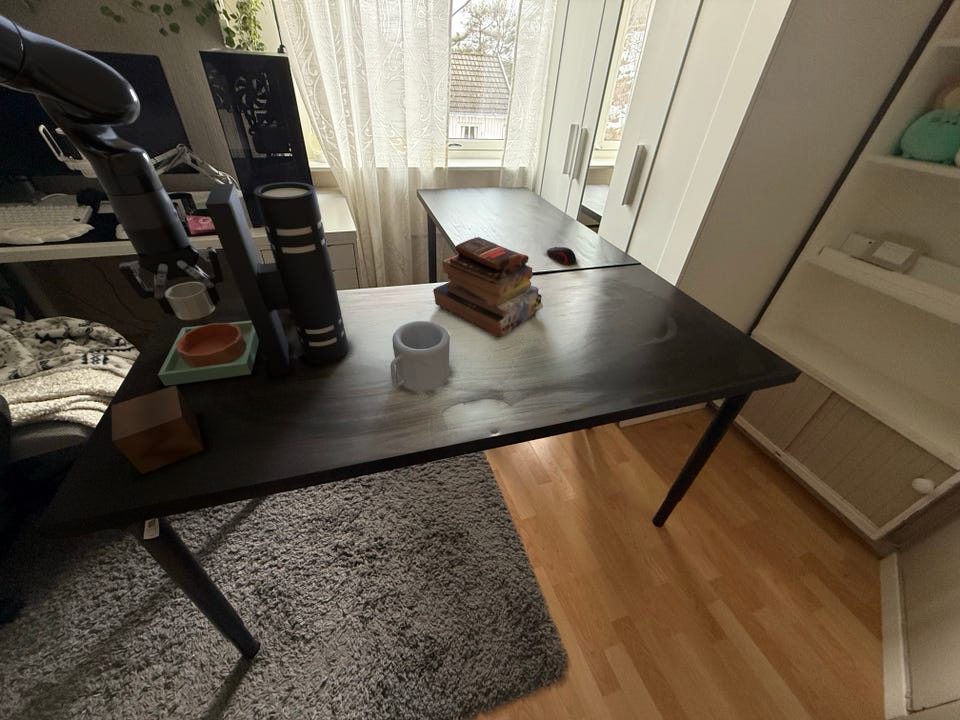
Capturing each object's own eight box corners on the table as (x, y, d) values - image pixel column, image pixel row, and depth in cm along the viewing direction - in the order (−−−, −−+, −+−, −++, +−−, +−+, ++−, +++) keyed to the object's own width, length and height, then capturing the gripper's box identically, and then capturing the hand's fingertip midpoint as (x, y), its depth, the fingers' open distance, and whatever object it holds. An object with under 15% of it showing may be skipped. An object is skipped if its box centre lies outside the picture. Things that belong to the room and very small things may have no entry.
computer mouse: (557, 250, 131) (559, 239, 128) (579, 262, 124) (582, 251, 121) (543, 253, 128) (545, 242, 125) (565, 266, 121) (567, 254, 119)
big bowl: (188, 377, 71) (180, 362, 69) (181, 347, 78) (173, 333, 76) (252, 357, 77) (246, 343, 74) (240, 331, 83) (234, 317, 81)
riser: (142, 474, 56) (111, 441, 51) (139, 439, 61) (111, 405, 56) (204, 449, 60) (181, 416, 55) (196, 418, 65) (175, 385, 60)
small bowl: (178, 323, 68) (166, 302, 65) (174, 308, 71) (163, 287, 68) (217, 313, 71) (208, 292, 68) (212, 299, 74) (202, 279, 71)
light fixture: (351, 362, 79) (317, 198, 58) (273, 377, 74) (205, 204, 53) (345, 334, 86) (313, 179, 65) (273, 346, 81) (213, 183, 60)
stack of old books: (543, 314, 98) (555, 252, 87) (502, 344, 87) (510, 277, 76) (476, 284, 108) (480, 225, 97) (432, 307, 97) (430, 243, 86)
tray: (251, 374, 74) (246, 363, 72) (164, 386, 70) (157, 375, 68) (261, 330, 85) (257, 319, 84) (187, 338, 82) (181, 327, 80)
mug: (421, 351, 83) (419, 313, 76) (460, 372, 78) (461, 333, 72) (374, 384, 74) (368, 344, 67) (415, 409, 69) (412, 368, 63)
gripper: (198, 205, 66) (233, 290, 76) (91, 218, 59) (146, 310, 69) (205, 218, 61) (241, 306, 72) (90, 234, 54) (149, 329, 65)
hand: (194, 308), depth 70 cm, fingers closed on small bowl, 6 cm apart
